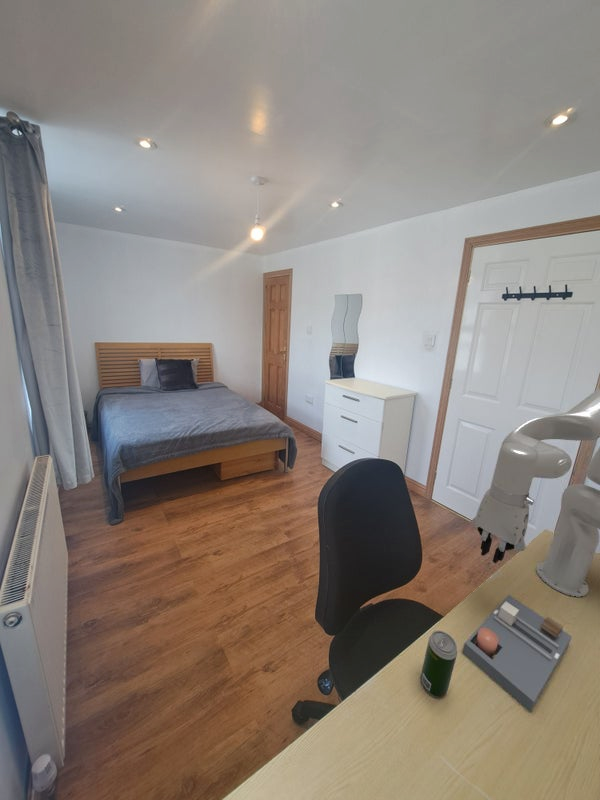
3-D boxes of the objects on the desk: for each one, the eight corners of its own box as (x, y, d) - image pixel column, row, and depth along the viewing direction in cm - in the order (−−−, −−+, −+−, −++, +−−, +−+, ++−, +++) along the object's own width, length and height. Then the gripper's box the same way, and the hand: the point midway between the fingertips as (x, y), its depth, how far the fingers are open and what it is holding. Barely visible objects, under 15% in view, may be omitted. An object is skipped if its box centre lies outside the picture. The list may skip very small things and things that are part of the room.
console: (506, 603, 89) (509, 592, 88) (568, 645, 78) (572, 634, 77) (462, 652, 75) (465, 640, 74) (530, 712, 64) (535, 699, 63)
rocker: (546, 619, 80) (547, 616, 80) (561, 629, 78) (563, 626, 78) (540, 626, 77) (541, 623, 77) (556, 637, 75) (557, 633, 75)
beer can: (436, 705, 64) (448, 661, 61) (414, 679, 68) (424, 637, 65) (452, 689, 67) (463, 646, 64) (429, 666, 71) (439, 624, 68)
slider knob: (502, 611, 82) (505, 601, 81) (515, 620, 80) (519, 610, 79) (497, 616, 80) (500, 606, 80) (510, 626, 78) (514, 616, 77)
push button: (480, 635, 77) (483, 624, 76) (498, 649, 74) (501, 638, 73) (472, 644, 74) (475, 633, 74) (490, 659, 71) (493, 648, 70)
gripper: (553, 505, 73) (532, 571, 78) (481, 475, 85) (467, 533, 90) (540, 516, 68) (519, 585, 73) (467, 482, 81) (453, 543, 86)
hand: (490, 556), depth 82 cm, fingers closed
